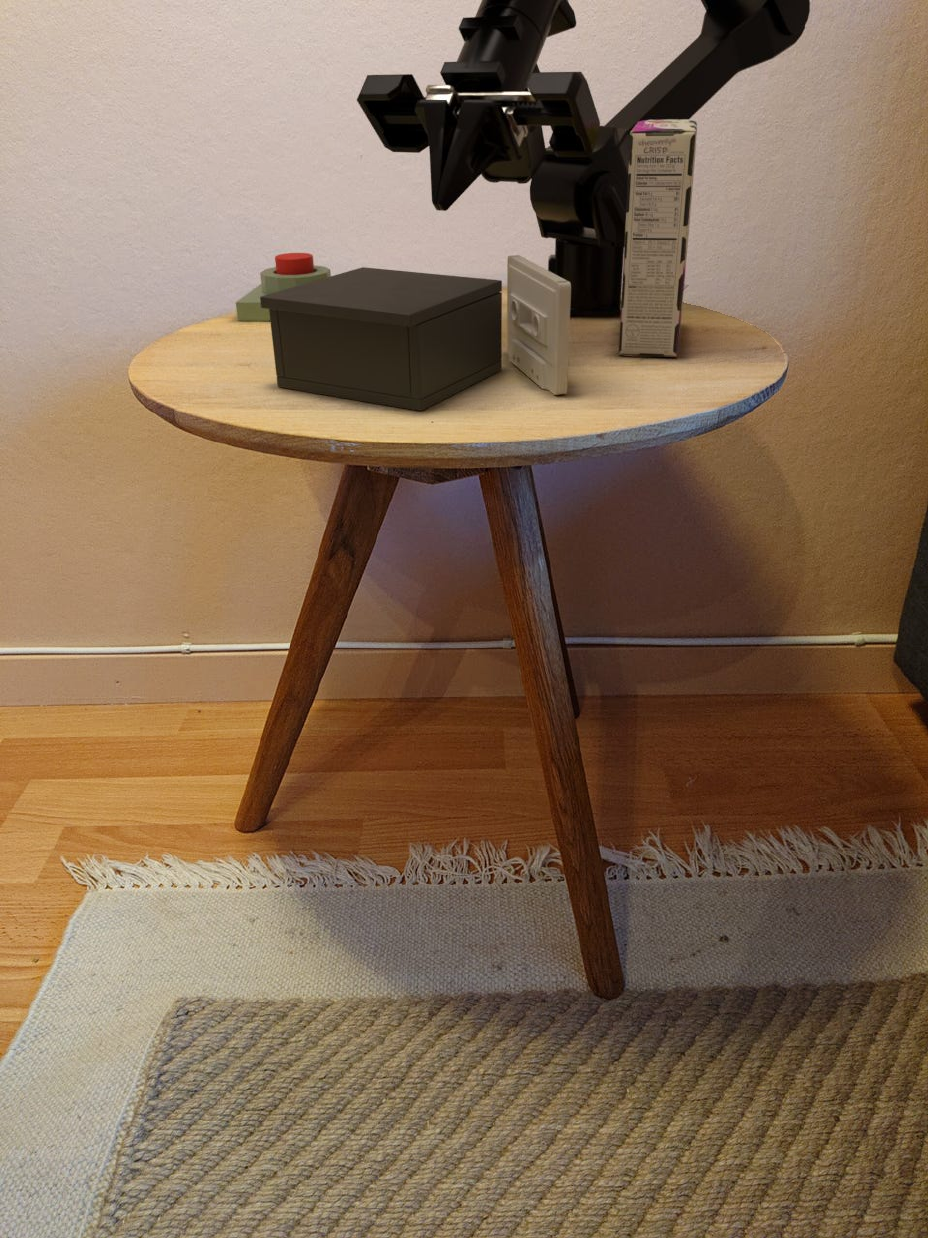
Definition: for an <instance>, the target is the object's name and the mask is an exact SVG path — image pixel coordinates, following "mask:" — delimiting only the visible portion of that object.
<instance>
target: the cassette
mask: <svg viewBox="0 0 928 1238" xmlns="http://www.w3.org/2000/svg"><path fill="white" fill-rule="evenodd" d="M506 260H507V261H506V263H507V265H506V266H507V267H506V268H507V269H506V270H507V271H506V272H507V273H506V274H507V275H506V276H507V279H506V280H507V282H506V284H507V285H506V287H507V288H506V293H507V294H506V299H507V300H506V302H507V303H506V304H507V305H506V308H507V309H506V354H507V357H508V358H509V360H508V361H509V362H510V363H511V364H512V365H514V366H515V367H516V368H517V369H519V370H520V371H521V373H523V374H524V375H526V377H528V378H529V379H530V380H531V381H532V382H534V383H535V384H536V385H537V386H539V387H540V388H541V389H542V390H547V391H549V392H550V393H551V394H553V395H554V396H558V395H566V394H567V393H568V383H569V382H568V380H569V355H570V327H571V325H570V324H571V315H570V303H571V283H570V282H569V281H567V280H565V279H563V278H561V277H559V276H557V275H556V274H554V273H552V272H550V271H548V269H546V268H545V267H543V266H541V265H539V264H536V263H535V262H533V261H532V260H529V259H526V257H523V256H522V255H520V254H516V255H513V254H512V255H507V259H506Z"/></svg>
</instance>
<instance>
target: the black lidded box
mask: <svg viewBox="0 0 928 1238" xmlns="http://www.w3.org/2000/svg"><path fill="white" fill-rule="evenodd" d="M269 314H270V321H269V323H270V331H271V339H272V348H273V355H274V356H273V358H274V365H275V366H274V367H275V374H276V383H277V385H276V386H277V387H278V388H283V389H288V390H294V391H300V392H306V393H311V394H316V395H317V394H318V395H323V396H324V395H325V396H330V397H336V398H340V399H347V400H353V401H360V402H365V403H370V404H377V405H383V406H387V407H388V406H389V407H395V408H400V409H406V410H413V411H419V412H423V411H424V410H427V409H428V408H430V407H433V406H434V405H436V404H438V403H440V402H442V401H444V400H446V399H447V398H450V397H452V396H453V395H455V394H457V393H459V392H461V391H463V390H465V389H467V388H469V387H471V386H474V385H475V384H477V383H479V382H481V381H483V380H485V379H487V378H489V377H490V376H493V375H495V374H496V373H498V372H500V371H502V351H503V350H502V348H503V347H502V344H503V343H502V341H503V339H502V338H503V337H502V335H503V331H502V330H503V329H502V328H503V326H502V325H503V315H502V314H503V293H502V291H501V292H498V293H496V294H493V295H491V296H488V297H486V298H483V299H480V300H478V301H475V302H473V303H470V304H468V305H465V306H463V307H460V308H457V309H455V310H452V311H450V312H447V313H445V314H442V315H440V316H437V317H434V318H432V319H429V320H427V321H424V322H422V323H419V324H417V325H414V326H411V327H409V326H401V325H393V324H385V323H377V322H369V321H361V320H353V319H345V318H337V317H329V316H321V315H313V314H305V313H297V312H289V311H281V310H273V309H269Z"/></svg>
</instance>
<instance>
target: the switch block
mask: <svg viewBox="0 0 928 1238" xmlns="http://www.w3.org/2000/svg"><path fill="white" fill-rule="evenodd" d="M259 275H260V276H259V277H260V284H259V285H257V286H256V287H254V288H253V289H252V290H251V291H249V292H248V293H246V294H245V295H243V296H242V297H241V298H239V299H238V300H236V301H235V308H236V315H237V321H239V322H241V321H246V322H251V321H252V322H254V321H255V322H260V321H261V322H270V314H269V309H265V308H261V302H260V297H261V296H264V295H268V294H271V293H275V292H278V291H282V290H285V289H289V288H292V287H296V286H299V285H303V284H306V283H310V282H313V281H317V280H320V279H324V278H327V277H331V276H332V273H331V269H330V268H329V267H327V266H323V265H315V264H314V272H313V273H309V274H301V275H281V274H277V273H276V266H273V267H268V268H265V269H264V270H262V271H261V272H260V273H259Z"/></svg>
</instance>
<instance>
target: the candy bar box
mask: <svg viewBox="0 0 928 1238" xmlns="http://www.w3.org/2000/svg"><path fill="white" fill-rule="evenodd" d="M697 135H698V123H697V120H695V119H689V120H686V119H676V120H674V119H666V120H644V121H638V123H637V124H636V126H635V127H634V128H633V129H632V131H631V132H630V153H629V172H628V184H627V205H626V227H625V245H624V256H623V272H622V288H621V315H620V318H619V321H620V322H619V336H618V337H619V339H618V355H620V356H625V357H639V358H640V357H644V358H676V357H677V356H678V351H679V342H680V334H681V325H682V313H683V301H684V291H685V282H686V281H685V280H686V270H687V269H686V268H687V258H688V245H689V232H690V224H691V223H690V222H691V212H692V211H691V210H692V200H693V199H692V198H693V188H694V178H695V177H694V176H695V175H694V174H695V163H696V151H697V150H696V149H697Z"/></svg>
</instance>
